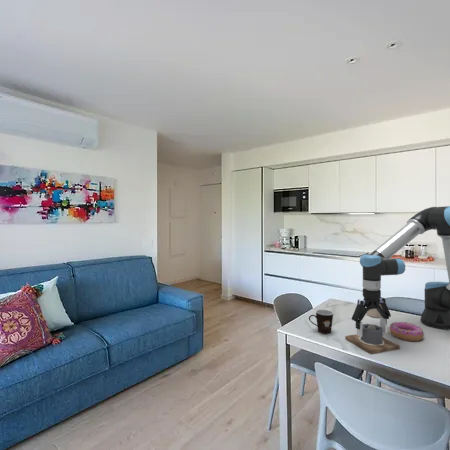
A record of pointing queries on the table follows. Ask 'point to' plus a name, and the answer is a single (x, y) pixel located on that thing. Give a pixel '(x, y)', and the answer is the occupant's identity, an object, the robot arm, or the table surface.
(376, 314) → the teacup with lid
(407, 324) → the donut
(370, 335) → the ring
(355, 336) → the post stand
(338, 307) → the table surface
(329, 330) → the coffee mug
